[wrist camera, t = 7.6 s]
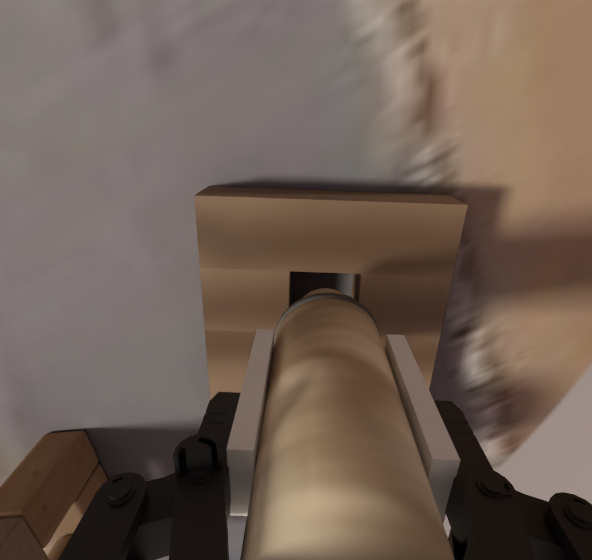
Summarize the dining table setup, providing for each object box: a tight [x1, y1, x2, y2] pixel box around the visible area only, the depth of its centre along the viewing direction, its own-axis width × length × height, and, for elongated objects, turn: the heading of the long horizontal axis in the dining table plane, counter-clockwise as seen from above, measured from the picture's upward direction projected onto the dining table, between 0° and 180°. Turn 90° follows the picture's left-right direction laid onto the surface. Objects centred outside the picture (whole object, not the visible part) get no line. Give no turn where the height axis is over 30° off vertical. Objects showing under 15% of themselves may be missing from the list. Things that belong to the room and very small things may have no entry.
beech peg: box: [240, 288, 455, 560], centre depth 14 cm, size 5×5×14 cm
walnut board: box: [194, 186, 468, 400], centre depth 20 cm, size 22×14×14 cm, turn 178°
